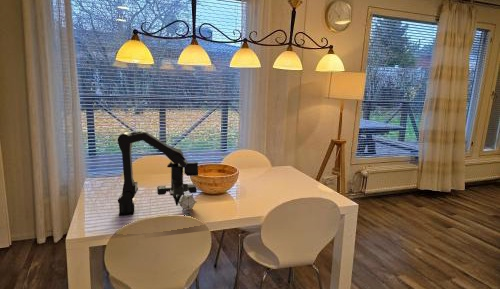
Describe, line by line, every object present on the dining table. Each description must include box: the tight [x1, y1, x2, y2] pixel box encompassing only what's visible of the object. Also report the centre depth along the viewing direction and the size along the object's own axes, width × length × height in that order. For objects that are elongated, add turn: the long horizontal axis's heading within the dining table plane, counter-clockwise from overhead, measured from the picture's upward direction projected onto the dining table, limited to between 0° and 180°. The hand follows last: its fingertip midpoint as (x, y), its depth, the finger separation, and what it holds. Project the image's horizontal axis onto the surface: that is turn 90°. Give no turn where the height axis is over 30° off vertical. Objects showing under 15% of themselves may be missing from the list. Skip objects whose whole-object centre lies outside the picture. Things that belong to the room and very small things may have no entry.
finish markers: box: [178, 196, 192, 217], centre depth 171 cm, size 3×25×2 cm, turn 19°
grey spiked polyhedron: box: [178, 193, 197, 211], centre depth 169 cm, size 9×8×10 cm
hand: (176, 205), depth 167 cm, fingers closed
